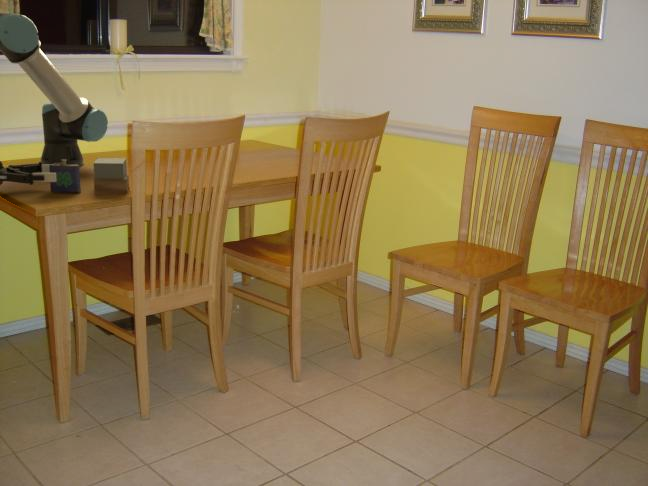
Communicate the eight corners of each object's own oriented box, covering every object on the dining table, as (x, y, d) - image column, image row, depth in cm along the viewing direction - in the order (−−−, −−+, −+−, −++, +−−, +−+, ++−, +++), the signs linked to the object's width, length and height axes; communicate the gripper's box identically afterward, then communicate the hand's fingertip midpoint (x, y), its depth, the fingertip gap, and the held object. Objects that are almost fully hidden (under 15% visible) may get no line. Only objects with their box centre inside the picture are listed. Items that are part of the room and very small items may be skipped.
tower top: (98, 173, 248) (97, 158, 247) (126, 173, 249) (126, 158, 248) (94, 178, 240) (93, 163, 238) (123, 179, 241) (122, 163, 239)
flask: (81, 191, 242) (79, 158, 239) (79, 193, 239) (77, 160, 236) (51, 191, 241) (49, 158, 238) (49, 193, 239) (47, 159, 236)
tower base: (98, 188, 250) (97, 173, 248) (129, 187, 251) (128, 173, 250) (94, 194, 240) (93, 179, 239) (127, 194, 242) (126, 179, 241)
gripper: (-2, 176, 247) (66, 176, 251) (-22, 193, 224) (53, 193, 227) (-4, 153, 245) (65, 154, 249) (-24, 168, 222) (51, 168, 225)
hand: (59, 172), depth 238 cm, fingers open, 13 cm apart
